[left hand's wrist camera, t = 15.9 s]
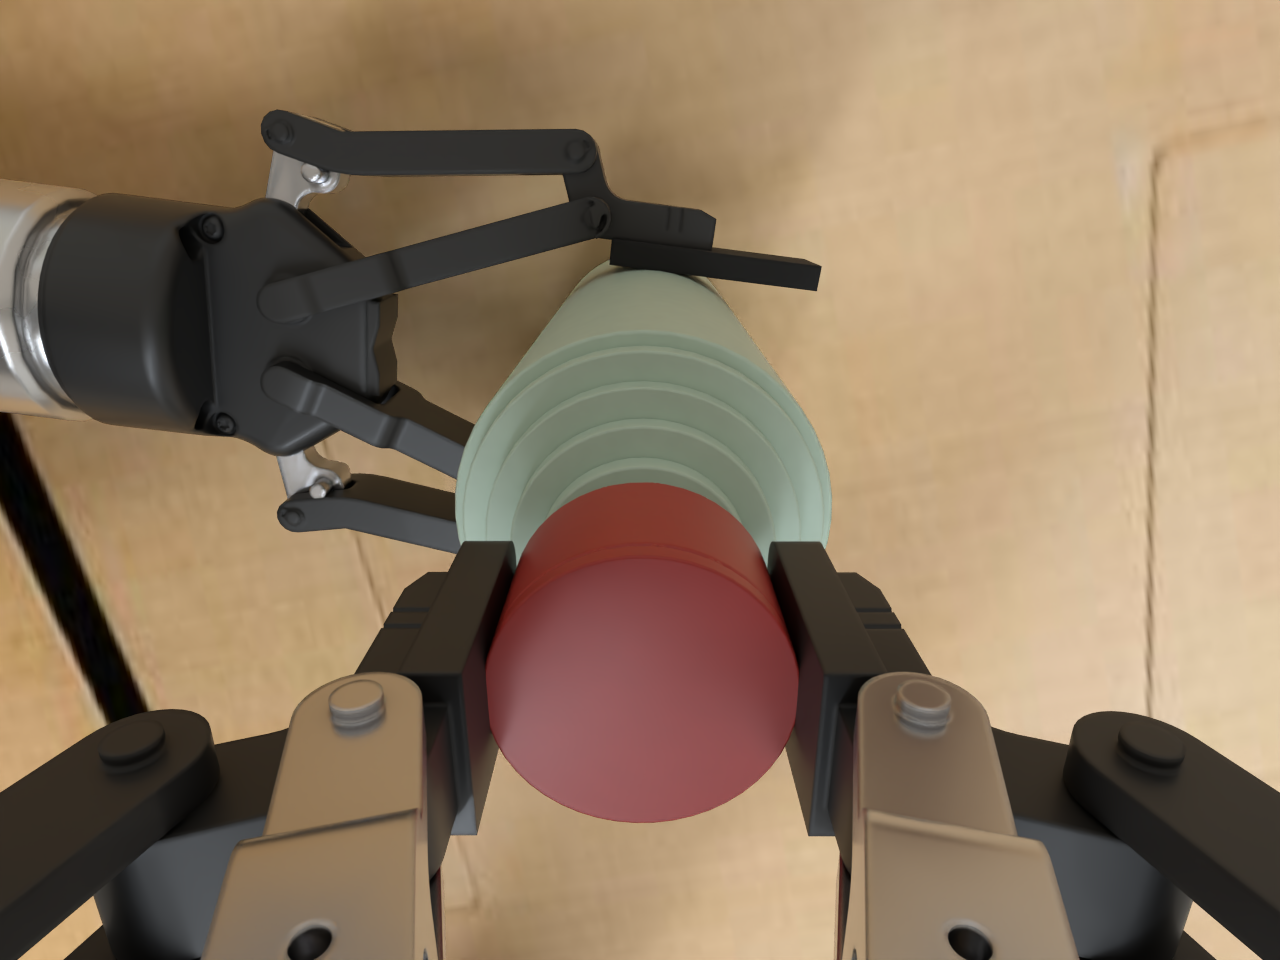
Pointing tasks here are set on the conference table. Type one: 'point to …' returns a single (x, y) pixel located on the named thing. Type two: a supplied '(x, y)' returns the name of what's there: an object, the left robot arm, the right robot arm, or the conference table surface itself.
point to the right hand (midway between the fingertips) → (786, 392)
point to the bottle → (643, 416)
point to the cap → (641, 657)
